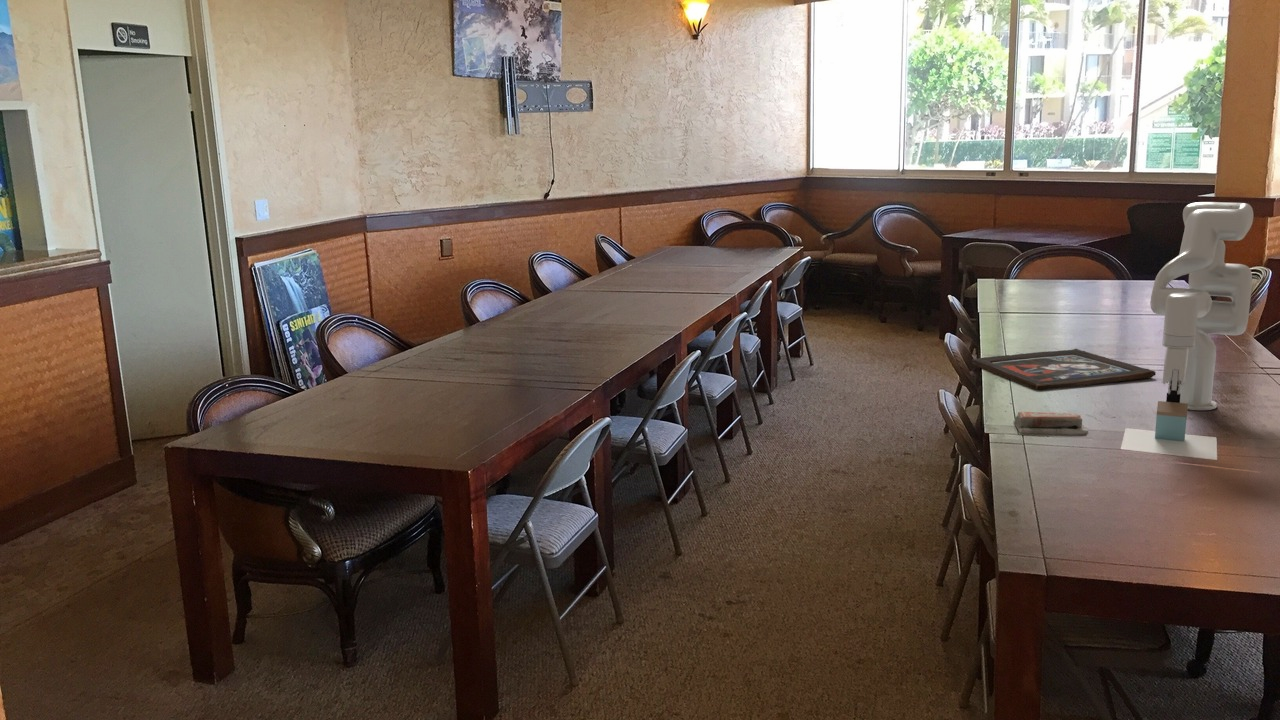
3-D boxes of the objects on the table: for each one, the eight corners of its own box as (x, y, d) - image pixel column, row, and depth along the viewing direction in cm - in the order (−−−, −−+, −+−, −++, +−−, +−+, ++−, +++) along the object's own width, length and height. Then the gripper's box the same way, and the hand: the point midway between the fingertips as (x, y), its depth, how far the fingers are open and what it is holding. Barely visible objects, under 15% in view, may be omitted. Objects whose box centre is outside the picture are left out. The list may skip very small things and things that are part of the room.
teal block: (1156, 428, 277) (1158, 400, 271) (1185, 430, 274) (1187, 403, 268) (1154, 438, 275) (1156, 411, 268) (1184, 441, 271) (1187, 414, 265)
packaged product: (1020, 418, 283) (1013, 408, 292) (1019, 435, 284) (1013, 424, 293) (1089, 419, 280) (1080, 409, 289) (1088, 436, 281) (1079, 425, 290)
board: (1125, 429, 284) (1125, 428, 284) (1216, 438, 274) (1216, 437, 274) (1120, 450, 267) (1120, 449, 267) (1217, 461, 257) (1217, 459, 257)
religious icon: (1159, 379, 335) (1160, 370, 335) (1038, 393, 325) (1038, 384, 324) (1079, 354, 374) (1079, 346, 373) (968, 366, 363) (969, 358, 362)
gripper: (1163, 334, 276) (1157, 400, 280) (1161, 345, 263) (1155, 414, 268) (1195, 336, 273) (1188, 402, 277) (1194, 347, 260) (1187, 417, 264)
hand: (1172, 408), depth 272 cm, fingers closed
